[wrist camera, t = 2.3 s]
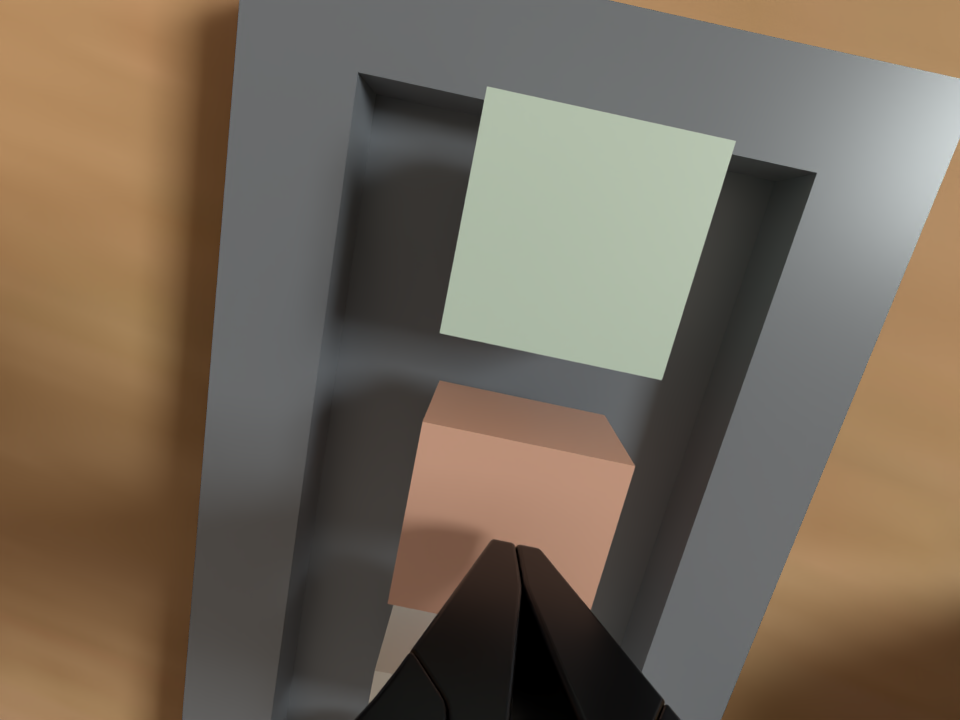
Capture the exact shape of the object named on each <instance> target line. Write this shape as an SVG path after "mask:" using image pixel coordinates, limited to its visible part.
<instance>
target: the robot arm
mask: <svg viewBox="0 0 960 720" xmlns="http://www.w3.org/2000/svg"><path fill="white" fill-rule="evenodd" d="M664 704H665V701H664V699H663V698H662V696H661V695H660V694H659V693H658V692H657V690H656V689H655V688H654V687H653V685H652V684H651V683H650V682H649V681H648V679H647V678H646V677H645V676H644V675H643V673H642V672H641V671H640V670H639V668H638V667H637V666H636V665H635V664H634V662H633V661H632V660H631V659H630V658H629V656H628V655H627V654H626V653H625V651H624V650H623V649H622V648H621V647H620V645H619V644H618V643H617V642H616V641H615V639H614V638H613V637H612V636H611V634H610V633H609V632H608V631H607V630H606V628H605V627H604V626H603V625H602V623H601V622H600V621H599V620H598V619H597V617H596V616H595V615H594V614H593V613H592V611H591V610H590V609H589V608H588V606H587V605H586V604H585V603H584V602H583V600H582V599H581V598H580V597H579V596H578V594H577V593H576V592H575V591H574V589H573V588H572V587H571V586H570V585H569V583H568V582H567V581H566V580H565V579H564V577H563V576H562V575H561V574H560V572H559V571H558V570H557V569H556V568H555V566H554V565H553V564H552V563H551V561H550V560H549V559H548V558H547V557H546V555H545V554H544V553H543V552H542V551H541V550H540V549H539V548H536V547H531V546H526V545H517V546H516V547H515V545H514V544H513V543H511V542H506V541H501V540H496V539H493V540H491V541H490V542H489V543H488V545H487V546H486V547H485V549H484V550H483V552H482V553H481V554H480V556H479V557H478V558H477V560H476V561H475V563H474V564H473V565H472V567H471V568H470V570H469V571H468V572H467V574H466V575H465V576H464V578H463V579H462V581H461V582H460V583H459V585H458V586H457V587H456V589H455V590H454V592H453V593H452V594H451V596H450V597H449V598H448V600H447V601H446V603H445V604H444V605H443V607H442V608H441V609H440V611H439V612H438V614H437V615H436V616H435V618H434V619H433V620H432V622H431V623H430V625H429V626H428V627H427V629H426V630H425V631H424V633H423V634H422V636H421V637H420V638H419V640H418V641H417V643H416V644H415V645H414V647H413V648H412V649H411V651H410V653H409V654H407V656H406V657H405V659H404V660H403V661H402V663H401V664H400V665H399V667H398V668H397V670H396V671H395V672H394V673H393V675H392V676H391V677H390V678H389V680H388V681H387V682H386V684H385V685H384V686H383V687H382V689H381V690H380V691H379V692H378V694H377V695H376V696H375V697H374V699H373V700H372V701H371V702H370V703H369V704H368V705H367V706H366V707H365V708H364V709H363V711H362V712H361V713H360V714H359V715H358V716H357V717H356V718H355V719H354V720H681V719H680V718H679V717H678V716H677V714H676V713H675V712H674V711H673V710H672V708H671V707H670V706H669V705H664Z"/></svg>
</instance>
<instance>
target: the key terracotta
mask: <svg viewBox="0 0 960 720" xmlns="http://www.w3.org/2000/svg"><path fill="white" fill-rule="evenodd" d="M634 469H635V465H634V463H633V462H632V460H631V458H630V457H629V455H628V453H627V452H626V450H625V448H624V447H623V445H622V443H621V442H620V440H619V438H618V437H617V435H616V433H615V432H614V430H613V428H612V427H611V425H610V423H609V422H608V420H607V418H606V417H605V415H602V414H597V413H592V412H587V411H583V410H578V409H573V408H568V407H564V406H559V405H554V404H549V403H545V402H540V401H535V400H530V399H526V398H521V397H516V396H511V395H507V394H502V393H497V392H492V391H488V390H483V389H478V388H473V387H469V386H464V385H459V384H454V383H449V382H445V381H440V380H439V383H438V385H437V388H436V390H435V393H434V395H433V397H432V400H431V402H430V405H429V407H428V410H427V412H426V414H425V417H424V419H423V422H422V427H421V432H420V437H419V443H418V448H417V453H416V458H415V463H414V469H413V474H412V479H411V484H410V490H409V495H408V500H407V505H406V510H405V516H404V521H403V526H402V531H401V536H400V542H399V547H398V552H397V557H396V562H395V568H394V573H393V578H392V583H391V588H390V594H389V599H388V604H391V605H396V606H401V607H406V608H411V609H416V610H421V611H426V612H431V613H436V614H438V612H439V611H440V609H441V608H442V607H443V605H444V604H445V603H446V601H447V600H448V598H449V597H450V596H451V594H452V593H453V592H454V590H455V589H456V587H457V586H458V585H459V583H460V582H461V581H462V579H463V578H464V576H465V575H466V574H467V572H468V571H469V570H470V568H471V567H472V565H473V564H474V563H475V561H476V560H477V558H478V557H479V556H480V554H481V553H482V552H483V550H484V549H485V547H486V546H487V545H488V543H489V542H490V541H491V540H493V539H496V540H501V541H506V542H511V543H513V544H514V545H515V547H516V546H517V545H526V546H531V547H536V548H539V549H540V550H541V551H542V552H543V553H544V554H545V555H546V557H547V558H548V559H549V560H550V561H551V563H552V564H553V565H554V566H555V568H556V569H557V570H558V571H559V572H560V574H561V575H562V576H563V577H564V579H565V580H566V581H567V582H568V583H569V585H570V586H571V587H572V588H573V589H574V591H575V592H576V593H577V594H578V596H579V597H580V598H581V599H582V600H583V602H584V603H585V604H586V605H587V606H588V608H589V609H590V610H591V608H592V604H593V601H594V598H595V595H596V591H597V588H598V585H599V582H600V579H601V575H602V572H603V569H604V566H605V562H606V559H607V556H608V553H609V549H610V546H611V543H612V540H613V537H614V533H615V530H616V527H617V524H618V520H619V517H620V514H621V511H622V508H623V504H624V501H625V498H626V495H627V491H628V488H629V485H630V482H631V478H632V475H633V472H634Z"/></svg>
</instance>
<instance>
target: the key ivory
mask: <svg viewBox="0 0 960 720" xmlns="http://www.w3.org/2000/svg"><path fill="white" fill-rule="evenodd" d="M436 615H437V614H436V613H431V612H426V611H421V610H416V609H411V608H406V607H401V606H396V605H393V608H392V612H391V615H390V619H389V622H388V626H387V629H386V633H385V636H384V640H383V643H382V647H381V650H380V654H379V657H378V661H377V664H376V668H375V672H374V677H373V682H372V687H371V692H370V698H369V703H370V702H371V701H372V700H373V699H374V697H375V696H376V695H377V694H378V692H379V691H380V690H381V689H382V687H383V686H384V685H385V684H386V682H387V681H388V680H389V678H390V677H391V676H392V675H393V673H394V672H395V671H396V670H397V668H398V667H399V665H400V664H401V663H402V661H403V660H404V659H405V657H406V656H407V654H409V653H410V651H411V649H412V648H413V647H414V645H415V644H416V643H417V641H418V640H419V638H420V637H421V636H422V634H423V633H424V631H425V630H426V629H427V627H428V626H429V625H430V623H431V622H432V620H433V619H434V618H435V616H436ZM369 703H368V704H369Z"/></svg>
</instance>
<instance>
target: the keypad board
mask: <svg viewBox="0 0 960 720" xmlns="http://www.w3.org/2000/svg"><path fill="white" fill-rule="evenodd" d="M487 86H488V87H493V88H497V89H502V90H506V91H511V92H515V93H520V94H524V95H529V96H533V97H538V98H543V99H547V100H552V101H556V102H561V103H565V104H570V105H574V106H579V107H584V108H588V109H593V110H597V111H602V112H606V113H611V114H615V115H620V116H624V117H629V118H634V119H638V120H643V121H647V122H652V123H656V124H661V125H665V126H670V127H675V128H679V129H684V130H688V131H693V132H697V133H702V134H706V135H711V136H715V137H720V138H725V139H729V140H734V141H736V143H735V146H734V149H733V152H732V156H731V159H730V162H729V165H728V169H727V172H726V175H725V178H724V182H723V185H722V188H721V191H720V194H719V198H718V201H717V204H716V207H715V211H714V214H713V217H712V220H711V223H710V227H709V230H708V233H707V236H706V240H705V243H704V246H703V249H702V253H701V256H700V259H699V262H698V265H697V269H696V272H695V275H694V278H693V282H692V285H691V288H690V291H689V294H688V298H687V301H686V304H685V307H684V311H683V314H682V317H681V320H680V324H679V327H678V330H677V333H676V336H675V340H674V343H673V346H672V349H671V353H670V356H669V359H668V362H667V366H666V369H665V372H664V375H663V378H662V380H658V379H654V378H649V377H644V376H639V375H635V374H630V373H625V372H620V371H616V370H611V369H606V368H602V367H597V366H592V365H587V364H583V363H578V362H573V361H569V360H564V359H559V358H554V357H550V356H545V355H540V354H536V353H531V352H526V351H521V350H517V349H512V348H507V347H502V346H498V345H493V344H488V343H484V342H479V341H474V340H469V339H465V338H460V337H455V336H451V335H446V334H441V333H440V328H441V323H442V318H443V313H444V307H445V302H446V297H447V292H448V287H449V281H450V276H451V271H452V266H453V261H454V255H455V250H456V245H457V240H458V235H459V229H460V224H461V219H462V214H463V209H464V203H465V198H466V193H467V188H468V183H469V177H470V172H471V167H472V162H473V157H474V151H475V146H476V141H477V136H478V131H479V125H480V120H481V115H482V110H483V105H484V99H485V94H486V89H487ZM959 139H960V79H959V78H955V77H950V76H946V75H941V74H937V73H932V72H928V71H923V70H919V69H914V68H910V67H905V66H901V65H896V64H892V63H887V62H883V61H878V60H874V59H869V58H865V57H860V56H856V55H851V54H847V53H843V52H838V51H834V50H829V49H825V48H820V47H816V46H811V45H807V44H802V43H798V42H793V41H789V40H784V39H780V38H775V37H771V36H766V35H762V34H757V33H753V32H748V31H744V30H740V29H735V28H731V27H726V26H722V25H717V24H713V23H708V22H704V21H699V20H695V19H690V18H686V17H681V16H677V15H672V14H668V13H663V12H659V11H654V10H650V9H645V8H641V7H636V6H632V5H628V4H623V3H619V2H614V1H610V0H240V1H239V13H238V26H237V38H236V51H235V63H234V76H233V88H232V101H231V113H230V126H229V138H228V151H227V163H226V176H225V189H224V201H223V214H222V226H221V239H220V251H219V264H218V276H217V289H216V301H215V314H214V326H213V339H212V351H211V364H210V376H209V389H208V402H207V414H206V427H205V439H204V452H203V464H202V477H201V489H200V502H199V514H198V527H197V539H196V552H195V564H194V577H193V589H192V602H191V614H190V627H189V640H188V652H187V665H186V677H185V690H184V702H183V715H182V720H354V719H355V718H356V717H357V716H358V715H359V714H360V713H361V712H362V711H363V709H364V708H365V707H366V706H367V705H368V703H369V698H370V692H371V687H372V682H373V677H374V672H375V668H376V664H377V661H378V657H379V654H380V650H381V647H382V643H383V640H384V636H385V633H386V629H387V626H388V622H389V619H390V615H391V612H392V608H393V605H391V604H388V599H389V594H390V588H391V583H392V578H393V573H394V568H395V562H396V557H397V552H398V547H399V542H400V536H401V531H402V526H403V521H404V516H405V510H406V505H407V500H408V495H409V490H410V484H411V479H412V474H413V469H414V463H415V458H416V453H417V448H418V443H419V437H420V432H421V427H422V422H423V419H424V417H425V414H426V412H427V410H428V407H429V405H430V402H431V400H432V397H433V395H434V393H435V390H436V388H437V385H438V383H439V380H440V381H445V382H449V383H454V384H459V385H464V386H469V387H473V388H478V389H483V390H488V391H492V392H497V393H502V394H507V395H511V396H516V397H521V398H526V399H530V400H535V401H540V402H545V403H549V404H554V405H559V406H564V407H568V408H573V409H578V410H583V411H587V412H592V413H597V414H602V415H605V417H606V418H607V420H608V422H609V423H610V425H611V427H612V428H613V430H614V432H615V433H616V435H617V437H618V438H619V440H620V442H621V443H622V445H623V447H624V448H625V450H626V452H627V453H628V455H629V457H630V458H631V460H632V462H633V463H634V465H635V469H634V472H633V475H632V478H631V482H630V485H629V488H628V491H627V495H626V498H625V501H624V504H623V508H622V511H621V514H620V517H619V520H618V524H617V527H616V530H615V533H614V537H613V540H612V543H611V546H610V549H609V553H608V556H607V559H606V562H605V566H604V569H603V572H602V575H601V579H600V582H599V585H598V588H597V591H596V595H595V598H594V601H593V604H592V608H591V611H592V613H593V614H594V615H595V616H596V617H597V619H598V620H599V621H600V622H601V623H602V625H603V626H604V627H605V628H606V630H607V631H608V632H609V633H610V634H611V636H612V637H613V638H614V639H615V641H616V642H617V643H618V644H619V645H620V647H621V648H622V649H623V650H624V651H625V653H626V654H627V655H628V656H629V658H630V659H631V660H632V661H633V662H634V664H635V665H636V666H637V667H638V668H639V670H640V671H641V672H642V673H643V675H644V676H645V677H646V678H647V679H648V681H649V682H650V683H651V684H652V685H653V687H654V688H655V689H656V690H657V692H658V693H659V694H660V695H661V696H662V698H663V699H664V701H665V704H664V705H669V706H670V707H671V708H672V710H673V711H674V712H675V713H676V714H677V716H678V717H679V718H680V719H681V720H721V718H722V716H723V713H724V711H725V709H726V706H727V704H728V701H729V699H730V696H731V694H732V692H733V689H734V687H735V684H736V682H737V679H738V677H739V674H740V672H741V670H742V667H743V665H744V662H745V660H746V657H747V655H748V653H749V650H750V648H751V645H752V643H753V640H754V638H755V635H756V633H757V631H758V628H759V626H760V623H761V621H762V618H763V616H764V614H765V611H766V609H767V606H768V604H769V601H770V599H771V597H772V594H773V592H774V589H775V587H776V584H777V582H778V579H779V577H780V575H781V572H782V570H783V567H784V565H785V562H786V560H787V558H788V555H789V553H790V550H791V548H792V545H793V543H794V541H795V538H796V536H797V533H798V531H799V528H800V526H801V523H802V521H803V519H804V516H805V514H806V511H807V509H808V506H809V504H810V502H811V499H812V497H813V494H814V492H815V489H816V487H817V484H818V482H819V480H820V477H821V475H822V472H823V470H824V467H825V465H826V463H827V460H828V458H829V455H830V453H831V450H832V448H833V446H834V443H835V441H836V438H837V436H838V433H839V431H840V428H841V426H842V424H843V421H844V419H845V416H846V414H847V411H848V409H849V407H850V404H851V402H852V399H853V397H854V394H855V392H856V390H857V387H858V385H859V382H860V380H861V377H862V375H863V372H864V370H865V368H866V365H867V363H868V360H869V358H870V355H871V353H872V351H873V348H874V346H875V343H876V341H877V338H878V336H879V334H880V331H881V329H882V326H883V324H884V321H885V319H886V316H887V314H888V312H889V309H890V307H891V304H892V302H893V299H894V297H895V295H896V292H897V290H898V287H899V285H900V282H901V280H902V277H903V275H904V273H905V270H906V268H907V265H908V263H909V260H910V258H911V256H912V253H913V251H914V248H915V246H916V243H917V241H918V239H919V236H920V234H921V231H922V229H923V226H924V224H925V221H926V219H927V217H928V214H929V212H930V209H931V207H932V204H933V202H934V200H935V197H936V195H937V192H938V190H939V187H940V185H941V183H942V180H943V178H944V175H945V173H946V170H947V168H948V165H949V163H950V161H951V158H952V156H953V153H954V151H955V148H956V146H957V144H958V141H959Z"/></svg>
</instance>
